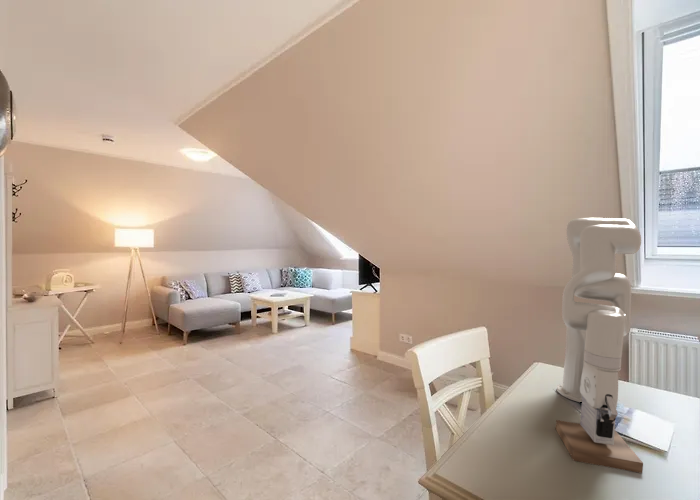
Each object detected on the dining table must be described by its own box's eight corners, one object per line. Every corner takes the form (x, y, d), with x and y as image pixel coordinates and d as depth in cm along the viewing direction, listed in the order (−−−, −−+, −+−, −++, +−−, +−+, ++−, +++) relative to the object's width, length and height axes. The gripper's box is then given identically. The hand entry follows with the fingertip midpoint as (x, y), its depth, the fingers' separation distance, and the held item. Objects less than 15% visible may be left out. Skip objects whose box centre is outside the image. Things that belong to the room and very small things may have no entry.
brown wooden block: (555, 428, 96) (556, 419, 96) (613, 438, 93) (614, 429, 93) (573, 460, 83) (574, 450, 83) (642, 473, 79) (643, 463, 79)
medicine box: (614, 445, 84) (617, 411, 83) (593, 443, 84) (596, 409, 84) (598, 427, 91) (600, 395, 91) (579, 424, 92) (581, 393, 91)
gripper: (572, 346, 96) (567, 407, 97) (600, 371, 79) (593, 444, 80) (603, 349, 94) (598, 411, 95) (638, 376, 77) (631, 450, 78)
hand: (596, 426), depth 88 cm, fingers closed on medicine box, 8 cm apart
